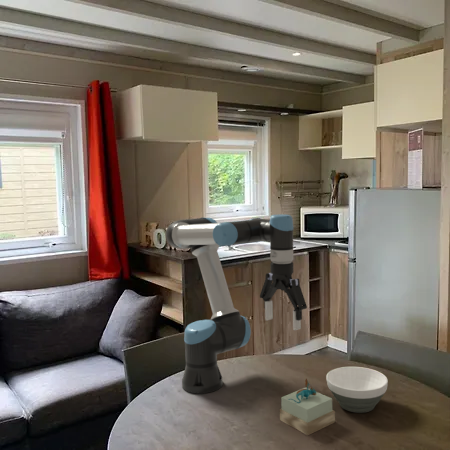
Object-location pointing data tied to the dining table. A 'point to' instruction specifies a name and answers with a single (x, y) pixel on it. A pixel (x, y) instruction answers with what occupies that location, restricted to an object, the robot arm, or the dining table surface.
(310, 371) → the dining table surface
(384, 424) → the dining table surface
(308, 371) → the dining table surface
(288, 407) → the tower top
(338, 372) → the bowl
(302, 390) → the dragon figurine
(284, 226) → the robot arm
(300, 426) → the tower base
